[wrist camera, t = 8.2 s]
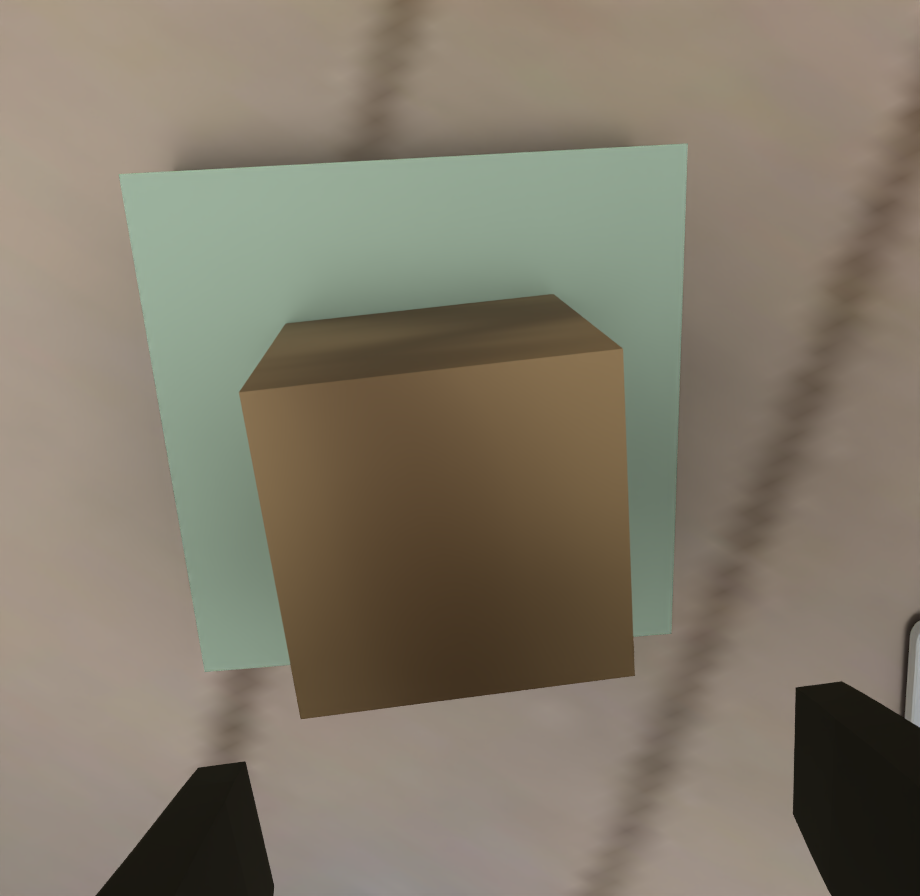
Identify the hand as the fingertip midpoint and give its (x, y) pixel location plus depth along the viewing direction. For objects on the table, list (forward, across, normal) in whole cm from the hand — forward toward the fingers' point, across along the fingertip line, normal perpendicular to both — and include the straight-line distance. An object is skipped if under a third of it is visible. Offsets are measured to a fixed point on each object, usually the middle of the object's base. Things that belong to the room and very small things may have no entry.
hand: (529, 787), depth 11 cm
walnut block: (+7, +1, -3) cm, 7 cm away
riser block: (+11, +1, -3) cm, 11 cm away
